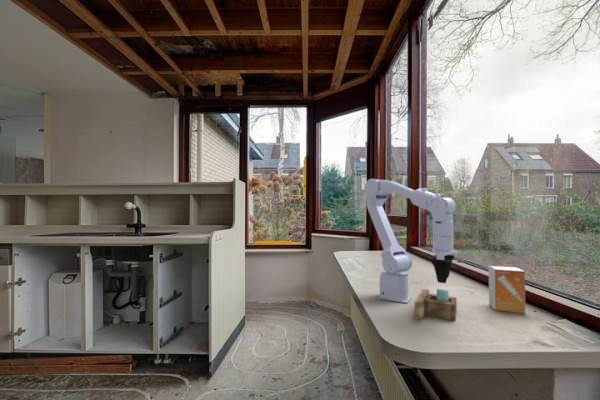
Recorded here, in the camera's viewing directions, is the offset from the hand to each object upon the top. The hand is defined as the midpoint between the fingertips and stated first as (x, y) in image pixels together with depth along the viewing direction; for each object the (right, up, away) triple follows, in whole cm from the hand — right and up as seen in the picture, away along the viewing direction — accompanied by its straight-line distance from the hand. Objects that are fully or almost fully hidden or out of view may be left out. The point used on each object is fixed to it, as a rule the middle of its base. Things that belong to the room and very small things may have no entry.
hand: (443, 279), depth 88 cm
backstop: (-6, -10, 0) cm, 12 cm away
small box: (+22, -10, +3) cm, 24 cm away
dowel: (-1, -10, -2) cm, 10 cm away
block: (-2, -10, -2) cm, 10 cm away
